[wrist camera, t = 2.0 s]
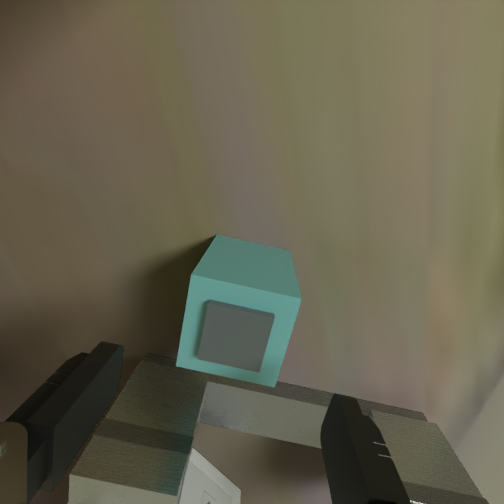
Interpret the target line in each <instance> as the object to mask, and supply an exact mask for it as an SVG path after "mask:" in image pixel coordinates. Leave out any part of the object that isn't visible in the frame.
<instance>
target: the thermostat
mask: <svg viewBox="0 0 504 504" xmlns="http://www.w3.org/2000/svg"><path fill="white" fill-rule="evenodd" d="M240 496H241V490H240V489H239V488H238V487H236V486H235V485H234V484H233V483H232V482H231V481H230V480H229V479H227V478H226V477H225V476H224V475H223V474H222V473H221V472H220V471H218V470H217V469H216V468H215V467H214V466H213V465H212V464H211V463H209V462H208V461H207V460H206V459H205V458H204V457H203V456H202V455H200V454H199V453H198V452H197V451H196V450H195V449H194V448H193V449H192V453H191V456H190V460H189V464H188V468H187V472H186V476H185V480H184V484H183V489H182V494H181V499H180V503H179V504H240ZM68 503H69V501H68ZM68 503H67V504H68Z"/></svg>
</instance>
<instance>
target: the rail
mask: <svg viewBox="0 0 504 504" xmlns="http://www.w3.org/2000/svg"><path fill="white" fill-rule="evenodd" d="M176 362H177V360H175V359H171V358H166V357H161V356H157V355H152V354H147V356H146V358H145V359H144V361H143V360H140V362H139V364H138V365H137V367H136V368H135V370H134V372H133V373H132V375H131V376H130V378H129V380H128V381H127V383H126V385H125V386H124V388H123V389H122V391H121V393H120V394H119V396H118V397H117V399H116V401H115V402H114V404H113V405H112V407H111V409H110V410H109V412H108V413H107V415H106V417H105V418H103V419H102V421H101V422H100V424H99V426H98V427H97V429H96V430H95V432H94V434H93V437H92V439H91V441H90V442H89V444H88V445H87V447H86V449H85V450H84V452H83V453H82V455H81V457H80V458H79V460H78V462H77V463H76V465H75V466H74V468H73V470H72V471H71V473H70V475H69V503H68V504H179V503H180V499H181V494H182V489H183V484H184V480H185V476H186V472H187V468H188V464H189V460H190V456H191V453H192V449H193V445H194V441H195V437H196V433H197V429H198V425H199V423H203V424H208V425H213V426H217V427H222V428H227V429H232V430H236V431H241V432H246V433H250V434H255V435H260V436H265V437H269V438H274V439H279V440H283V441H288V442H293V443H298V444H302V445H307V446H312V447H316V448H321V449H322V447H321V441H320V432H321V426H322V423H323V420H324V417H325V415H326V412H327V409H328V407H329V404H330V401H331V399H332V396H333V395H334V394H333V393H328V392H323V391H319V390H314V389H309V388H305V387H300V386H296V385H291V384H286V383H282V382H276V385H275V387H270V386H266V385H261V384H256V383H252V382H247V381H242V380H238V379H233V378H228V377H224V376H219V375H214V374H210V373H205V372H200V371H196V370H191V369H187V368H182V367H177V366H176ZM357 401H358V403H359V406H360V409H361V411H362V414H363V415H366V416H369V417H370V418H371V419H372V421H373V422H374V423H375V424H376V426H377V427H378V428H379V429H380V432H381V434H382V436H383V439H384V441H385V443H386V447H387V448H388V450H389V453H390V455H391V459H392V460H393V462H394V464H395V467H396V469H397V471H398V474H399V476H400V478H401V481H402V483H403V485H404V488H405V490H406V492H407V495H408V497H409V499H410V502H411V504H489V503H488V501H487V500H486V499H484V498H483V496H482V494H481V493H480V491H479V490H478V488H477V486H476V485H475V483H474V482H473V480H472V479H471V477H470V475H469V474H468V472H467V471H466V470H465V468H464V466H463V464H462V463H461V461H460V460H459V458H458V457H457V455H456V453H455V452H454V450H453V449H452V447H451V446H450V444H449V442H448V441H447V439H446V438H445V436H444V435H443V433H442V432H441V430H440V428H439V427H438V425H437V424H435V423H431V422H428V420H427V419H426V417H425V416H424V414H423V413H420V412H416V411H411V410H406V409H402V408H397V407H393V406H388V405H383V404H379V403H374V402H370V401H365V400H360V399H357Z"/></svg>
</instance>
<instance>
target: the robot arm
mask: <svg viewBox="0 0 504 504" xmlns="http://www.w3.org/2000/svg"><path fill="white" fill-rule="evenodd" d="M123 351H124V348H123V346H121V345H117V344H112V343H108V342H100V343H99V344H98V345H97V346H96V347H95V349H94V350H93V351H92V352H91V353H90V354H87V353H80V354H78V355H76V356H74V357H72V358H70V359H69V360H67V361H66V362H65V363H64V364H63V365H62V366H61V367H60V368H59V369H58V370H57V371H56V372H55V374H53V375H51V376H50V377H49V378H48V379H47V380H46V383H43V384H42V385H41V386H40V387H39V388H38V389H37V390H36V391H35V392H34V393H33V394H32V395H31V396H30V397H29V398H28V399H27V400H26V401H25V402H24V403H23V404H22V405H21V406H20V407H19V408H18V409H17V410H16V411H15V412H14V413H13V414H12V415H11V416H10V417H9V418H8V419H7V420H6V421H5V422H0V504H29V502H30V501H31V499H32V498H33V497H34V495H35V494H36V492H37V491H38V489H41V490H46V491H51V492H52V491H53V489H54V488H55V486H56V485H57V483H58V482H59V480H60V479H61V477H62V476H63V474H64V473H65V471H66V470H67V468H68V466H69V465H70V463H71V462H72V460H73V459H74V457H75V456H76V454H77V453H78V451H79V450H80V448H81V447H82V445H83V444H84V442H85V440H86V439H87V437H88V436H89V434H90V433H91V431H92V430H93V428H94V427H95V425H96V424H97V422H98V421H99V419H100V418H101V416H102V414H103V413H104V411H105V410H106V408H107V407H108V405H109V404H110V402H111V401H112V399H113V398H114V396H115V394H116V392H117V389H118V386H119V383H120V378H121V369H122V360H123ZM320 441H321V447H322V453H323V458H324V463H325V468H326V473H327V478H328V483H329V488H330V493H331V498H332V504H411V502H410V499H409V497H408V495H407V492H406V490H405V488H404V485H403V483H402V481H401V478H400V476H399V474H398V471H397V469H396V467H395V464H394V462H393V460H392V459H391V455H390V453H389V450H388V448H387V447H386V443H385V441H384V439H383V436H382V434H381V432H380V429H379V428H378V427H377V426H376V424H375V423H374V422H373V421H372V419H371V418H370V417H369V416H366V415H363V414H362V411H361V409H360V406H359V403H358V401H357V399H356V398H354V397H350V396H345V395H341V394H334V395H333V396H332V399H331V401H330V404H329V407H328V409H327V412H326V415H325V417H324V420H323V423H322V426H321V432H320Z"/></svg>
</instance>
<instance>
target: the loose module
mask: <svg viewBox="0 0 504 504" xmlns="http://www.w3.org/2000/svg"><path fill="white" fill-rule="evenodd" d="M301 300H302V298H301V294H300V290H299V286H298V282H297V277H296V273H295V269H294V265H293V261H292V257H291V253H290V251H287V250H282V249H278V248H274V247H269V246H265V245H260V244H256V243H251V242H247V241H243V240H238V239H234V238H229V237H225V236H220V235H216V237H215V238H214V240H213V241H212V243H211V244H210V246H209V248H208V249H207V251H206V252H205V254H204V255H203V257H202V258H201V260H200V262H199V263H198V265H197V266H196V268H195V269H194V271H193V272H192V274H191V279H190V285H189V290H188V296H187V302H186V308H185V314H184V320H183V326H182V332H181V338H180V344H179V350H178V356H177V362H176V366H177V367H182V368H187V369H191V370H196V371H200V372H205V373H210V374H214V375H219V376H224V377H228V378H233V379H238V380H242V381H247V382H252V383H256V384H261V385H266V386H270V387H275V385H276V382H277V379H278V375H279V372H280V369H281V366H282V362H283V359H284V356H285V352H286V349H287V346H288V343H289V339H290V336H291V333H292V329H293V326H294V323H295V320H296V316H297V313H298V310H299V306H300V303H301Z"/></svg>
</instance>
